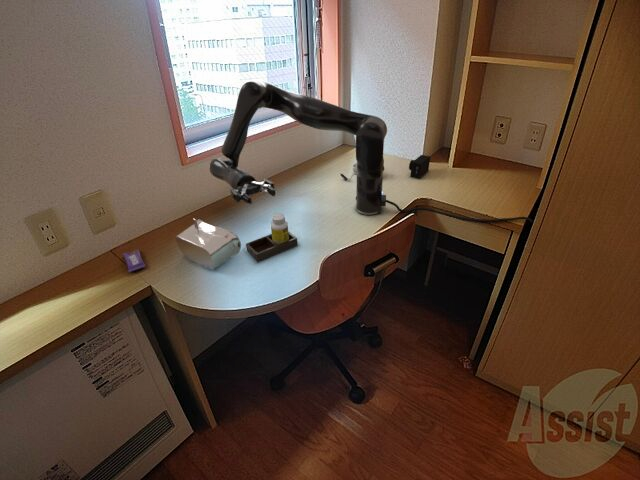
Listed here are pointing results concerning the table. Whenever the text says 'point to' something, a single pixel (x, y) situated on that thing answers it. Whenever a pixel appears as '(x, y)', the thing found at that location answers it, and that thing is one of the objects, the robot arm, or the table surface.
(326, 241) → the table surface
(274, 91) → the robot arm
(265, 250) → the divided box
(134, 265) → the snack package
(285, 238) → the supplement bottle
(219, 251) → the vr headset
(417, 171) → the digital camera
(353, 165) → the clip-on lamp
